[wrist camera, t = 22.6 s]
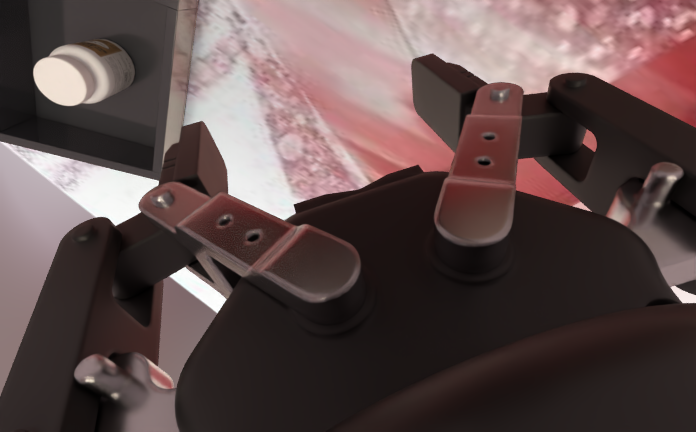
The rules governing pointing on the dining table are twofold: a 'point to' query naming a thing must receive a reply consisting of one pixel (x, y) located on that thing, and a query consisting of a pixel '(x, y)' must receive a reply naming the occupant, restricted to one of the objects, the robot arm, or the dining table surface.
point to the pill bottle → (84, 72)
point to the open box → (115, 111)
